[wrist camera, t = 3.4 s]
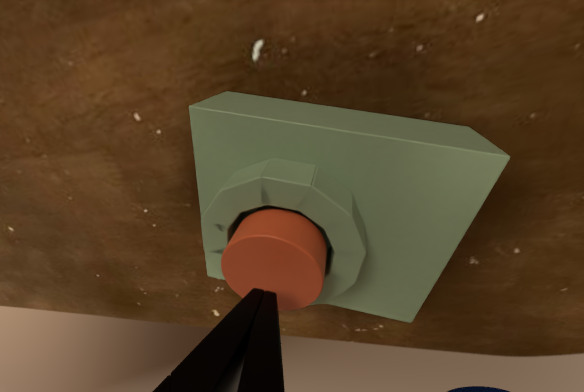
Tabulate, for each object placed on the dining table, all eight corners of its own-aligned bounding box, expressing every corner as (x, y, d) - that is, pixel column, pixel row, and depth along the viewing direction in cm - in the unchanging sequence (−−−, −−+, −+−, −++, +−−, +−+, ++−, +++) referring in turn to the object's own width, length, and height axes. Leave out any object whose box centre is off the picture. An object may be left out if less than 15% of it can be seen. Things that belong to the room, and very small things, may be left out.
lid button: (335, 218, 10) (333, 249, 8) (318, 286, 12) (314, 320, 10) (236, 199, 10) (217, 225, 9) (237, 268, 12) (222, 298, 11)
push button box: (469, 126, 12) (545, 180, 7) (400, 272, 17) (419, 357, 13) (225, 90, 13) (159, 117, 9) (230, 237, 19) (191, 301, 14)
